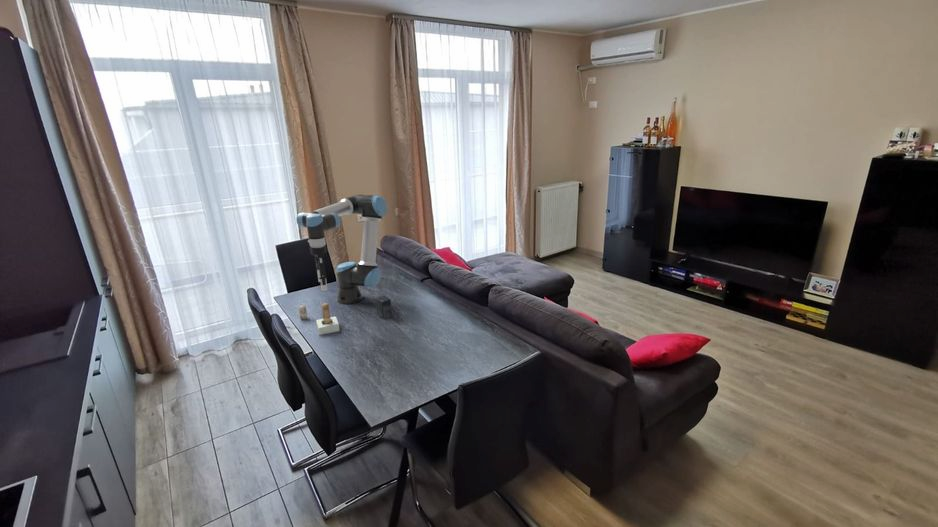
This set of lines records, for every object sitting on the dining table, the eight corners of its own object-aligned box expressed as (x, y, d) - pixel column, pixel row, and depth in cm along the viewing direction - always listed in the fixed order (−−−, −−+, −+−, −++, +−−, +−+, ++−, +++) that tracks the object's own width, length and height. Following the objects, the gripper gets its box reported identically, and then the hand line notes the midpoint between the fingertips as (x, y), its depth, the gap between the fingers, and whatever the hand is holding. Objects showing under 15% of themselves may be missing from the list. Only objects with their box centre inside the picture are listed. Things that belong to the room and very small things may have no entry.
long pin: (324, 328, 217) (320, 303, 212) (331, 326, 218) (328, 302, 214) (324, 331, 214) (321, 306, 209) (332, 329, 215) (329, 305, 211)
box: (392, 316, 230) (390, 299, 227) (383, 319, 227) (381, 301, 223) (385, 311, 236) (384, 294, 232) (376, 314, 232) (375, 297, 229)
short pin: (300, 317, 229) (298, 306, 226) (307, 316, 230) (305, 304, 228) (300, 320, 226) (298, 308, 223) (307, 318, 227) (306, 307, 225)
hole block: (317, 326, 218) (316, 320, 217) (336, 323, 222) (335, 316, 221) (319, 334, 210) (318, 327, 208) (339, 330, 214) (338, 324, 212)
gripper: (307, 240, 210) (312, 279, 217) (312, 253, 189) (318, 295, 196) (322, 238, 213) (327, 276, 220) (329, 251, 192) (334, 293, 199)
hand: (322, 285), depth 208 cm, fingers open, 13 cm apart
